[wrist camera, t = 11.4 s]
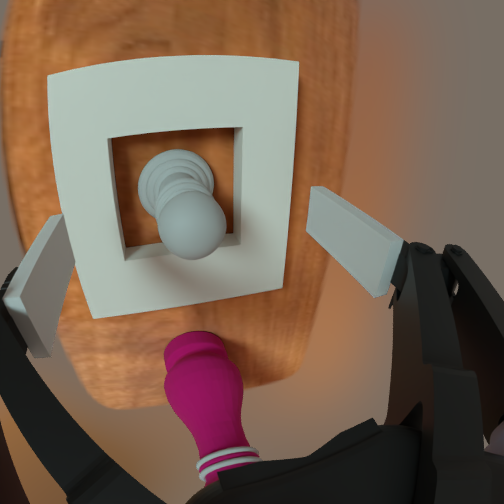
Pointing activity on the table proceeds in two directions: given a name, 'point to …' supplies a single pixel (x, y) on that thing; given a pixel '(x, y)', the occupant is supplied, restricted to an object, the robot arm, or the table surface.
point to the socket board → (168, 119)
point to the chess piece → (183, 203)
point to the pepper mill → (208, 401)
